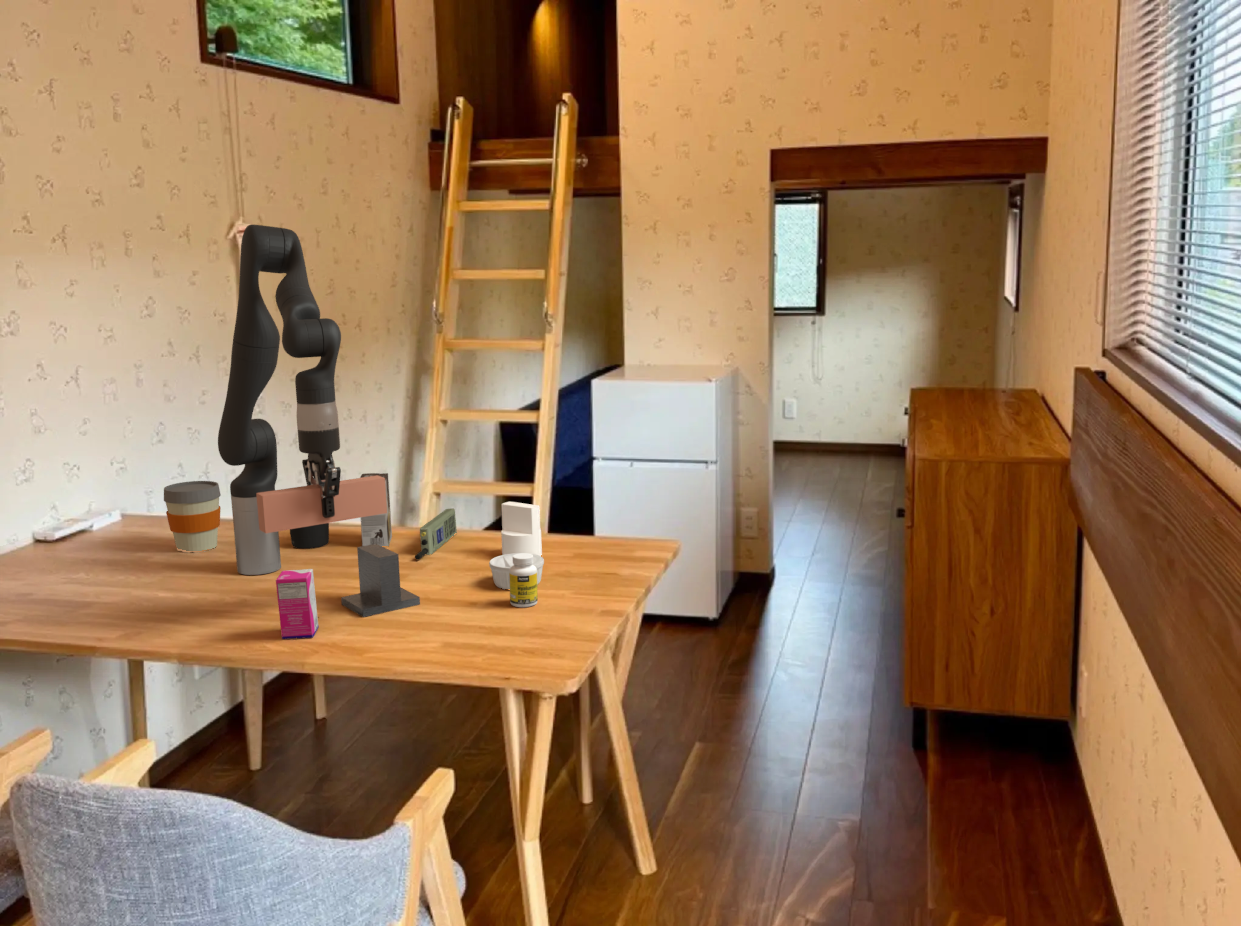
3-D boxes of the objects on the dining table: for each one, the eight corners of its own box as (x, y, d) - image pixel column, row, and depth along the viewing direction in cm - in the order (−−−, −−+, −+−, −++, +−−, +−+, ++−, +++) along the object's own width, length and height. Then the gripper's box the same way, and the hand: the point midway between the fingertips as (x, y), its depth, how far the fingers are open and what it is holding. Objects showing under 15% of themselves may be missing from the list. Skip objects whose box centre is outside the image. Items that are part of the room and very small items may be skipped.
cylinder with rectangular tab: (549, 554, 251) (548, 503, 249) (525, 564, 244) (524, 511, 241) (518, 549, 256) (516, 498, 254) (494, 558, 248) (492, 506, 246)
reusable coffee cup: (213, 554, 255) (207, 491, 252) (159, 555, 256) (153, 492, 253) (232, 540, 268) (227, 480, 265) (181, 541, 268) (175, 480, 265)
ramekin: (479, 585, 229) (478, 560, 228) (519, 573, 237) (518, 549, 236) (515, 596, 222) (514, 570, 221) (555, 583, 230) (554, 558, 229)
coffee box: (365, 538, 268) (361, 473, 265) (392, 537, 268) (388, 472, 265) (361, 548, 259) (357, 481, 256) (389, 546, 260) (385, 480, 256)
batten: (259, 529, 205) (256, 493, 203) (379, 509, 219) (377, 475, 217) (265, 533, 202) (262, 496, 201) (387, 512, 216) (384, 478, 214)
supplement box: (286, 628, 204) (282, 569, 202) (319, 627, 205) (314, 568, 203) (280, 639, 199) (275, 578, 196) (313, 638, 199) (308, 577, 197)
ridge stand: (341, 604, 218) (338, 550, 216) (397, 592, 225) (394, 540, 223) (363, 617, 210) (359, 561, 208) (419, 604, 217) (417, 550, 215)
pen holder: (300, 539, 268) (297, 499, 266) (337, 539, 267) (334, 499, 265) (283, 549, 259) (280, 508, 257) (321, 550, 258) (318, 508, 256)
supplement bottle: (516, 609, 213) (514, 561, 211) (506, 602, 218) (504, 554, 216) (542, 605, 215) (540, 557, 213) (531, 597, 220) (529, 550, 218)
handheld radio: (459, 534, 271) (425, 563, 247) (446, 534, 271) (411, 563, 247) (456, 508, 270) (422, 534, 245) (444, 508, 270) (408, 534, 246)
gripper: (352, 428, 203) (358, 518, 207) (323, 419, 215) (329, 505, 218) (312, 432, 199) (319, 525, 202) (285, 423, 210) (292, 511, 213)
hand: (324, 514), depth 210 cm, fingers closed on batten, 3 cm apart
